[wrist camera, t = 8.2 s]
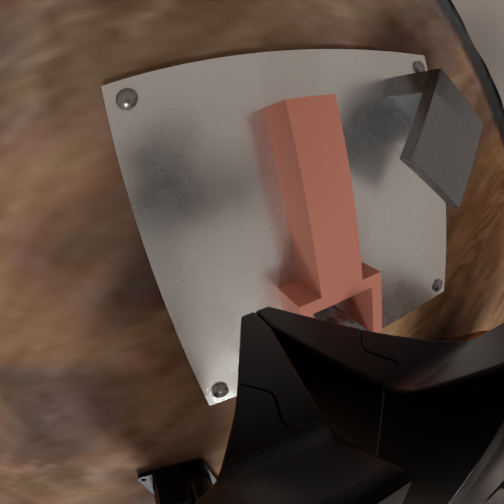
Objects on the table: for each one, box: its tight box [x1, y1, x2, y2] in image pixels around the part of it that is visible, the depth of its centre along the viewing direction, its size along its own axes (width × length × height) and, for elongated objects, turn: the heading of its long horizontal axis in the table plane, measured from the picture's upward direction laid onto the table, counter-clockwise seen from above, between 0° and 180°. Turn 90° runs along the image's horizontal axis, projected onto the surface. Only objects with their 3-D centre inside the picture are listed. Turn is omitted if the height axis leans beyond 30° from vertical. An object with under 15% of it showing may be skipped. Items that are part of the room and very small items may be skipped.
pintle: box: [314, 305, 367, 331], centre depth 20 cm, size 2×2×4 cm
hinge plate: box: [101, 49, 446, 406], centre depth 20 cm, size 22×24×1 cm
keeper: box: [382, 69, 483, 208], centre depth 18 cm, size 7×6×5 cm
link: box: [263, 94, 382, 333], centre depth 19 cm, size 17×6×3 cm, turn 14°
